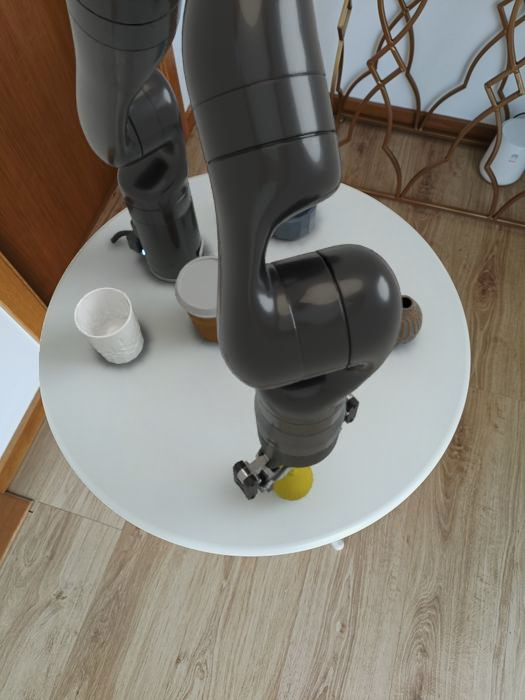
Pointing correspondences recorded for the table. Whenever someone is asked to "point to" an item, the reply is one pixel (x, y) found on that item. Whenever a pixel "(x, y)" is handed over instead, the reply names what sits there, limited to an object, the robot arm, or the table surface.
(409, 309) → the vase
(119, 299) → the white cup
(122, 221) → the table surface
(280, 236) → the bowl
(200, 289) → the disposable coffee cup
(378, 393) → the table surface
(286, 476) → the lemon
